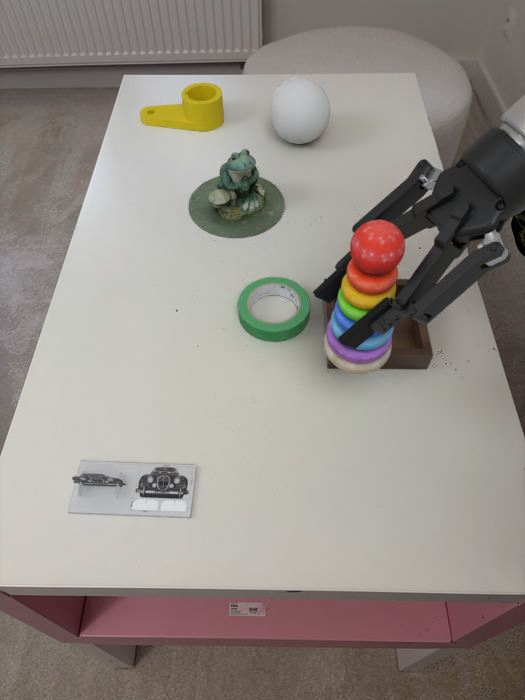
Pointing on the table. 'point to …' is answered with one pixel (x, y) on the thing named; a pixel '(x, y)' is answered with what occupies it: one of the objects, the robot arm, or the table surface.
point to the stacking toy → (365, 295)
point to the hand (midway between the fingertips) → (333, 319)
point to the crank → (189, 110)
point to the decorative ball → (299, 110)
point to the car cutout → (133, 489)
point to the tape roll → (274, 329)
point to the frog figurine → (237, 200)
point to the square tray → (398, 340)
